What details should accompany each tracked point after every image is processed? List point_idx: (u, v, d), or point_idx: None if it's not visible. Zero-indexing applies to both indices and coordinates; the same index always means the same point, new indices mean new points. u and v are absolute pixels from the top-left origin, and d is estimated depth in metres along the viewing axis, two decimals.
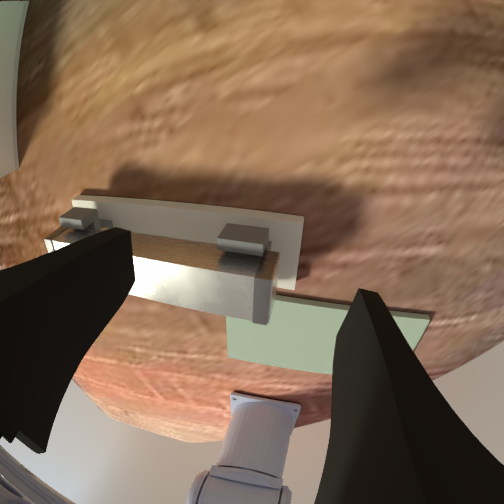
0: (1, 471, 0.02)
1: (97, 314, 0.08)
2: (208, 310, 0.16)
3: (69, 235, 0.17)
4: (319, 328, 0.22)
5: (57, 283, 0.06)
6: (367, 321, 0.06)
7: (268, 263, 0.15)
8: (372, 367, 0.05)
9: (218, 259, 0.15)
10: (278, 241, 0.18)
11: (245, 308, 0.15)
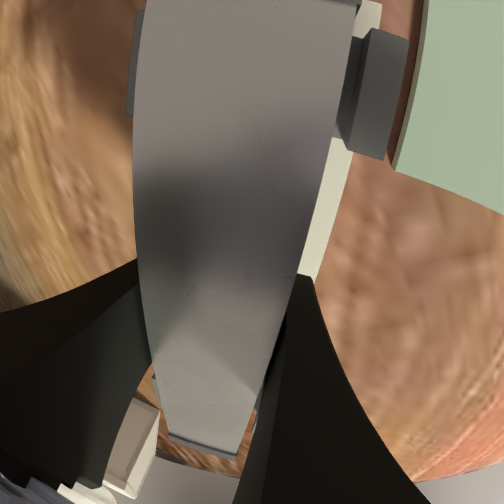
0: (1, 471, 0.02)
1: None
2: (312, 171, 0.04)
3: None
4: None
5: (122, 310, 0.06)
6: None
7: None
8: (280, 348, 0.06)
9: None
10: None
11: (287, 18, 0.03)
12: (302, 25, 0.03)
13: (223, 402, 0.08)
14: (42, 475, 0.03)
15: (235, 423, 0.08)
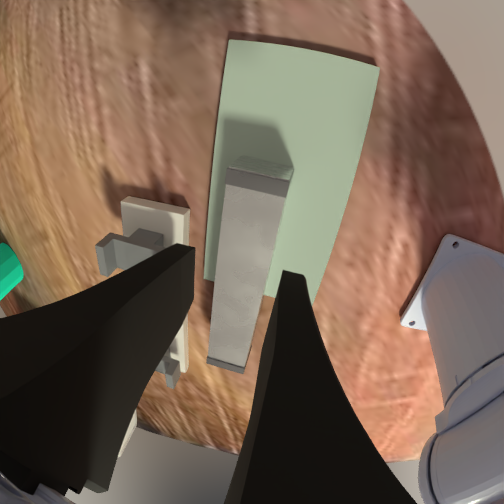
0: (1, 471, 0.02)
1: (162, 339, 0.07)
2: (272, 240, 0.15)
3: None
4: None
5: (131, 314, 0.06)
6: (277, 300, 0.07)
7: None
8: (271, 346, 0.06)
9: None
10: (138, 222, 0.19)
11: (266, 200, 0.14)
12: (270, 203, 0.14)
13: (241, 324, 0.19)
14: (50, 481, 0.03)
15: (246, 338, 0.20)
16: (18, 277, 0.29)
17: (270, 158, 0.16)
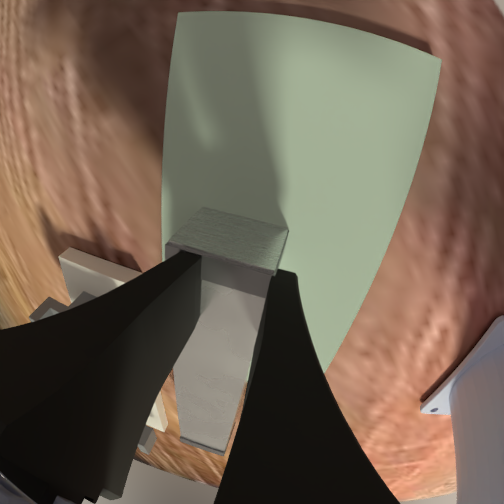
0: (1, 471, 0.02)
1: (175, 344, 0.07)
2: (248, 350, 0.09)
3: None
4: None
5: (148, 320, 0.06)
6: (267, 298, 0.07)
7: None
8: (259, 343, 0.06)
9: None
10: (81, 284, 0.14)
11: (236, 299, 0.08)
12: (242, 303, 0.08)
13: (215, 421, 0.13)
14: (67, 493, 0.03)
15: (223, 433, 0.14)
16: None
17: (249, 212, 0.10)
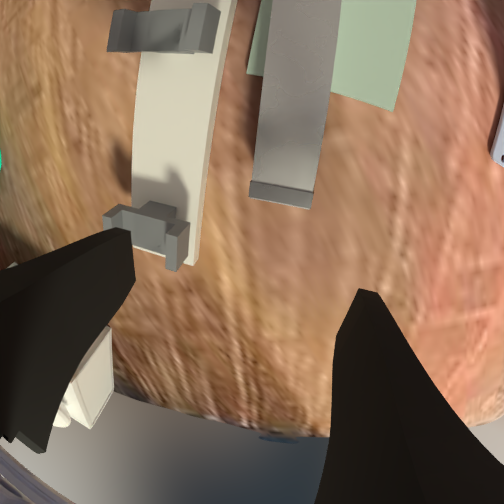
0: (1, 471, 0.02)
1: (97, 313, 0.08)
2: None
3: None
4: None
5: (57, 283, 0.06)
6: (367, 321, 0.06)
7: None
8: (372, 367, 0.05)
9: None
10: None
11: None
12: None
13: (310, 89, 0.11)
14: None
15: (317, 119, 0.12)
16: None
17: None
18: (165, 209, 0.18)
